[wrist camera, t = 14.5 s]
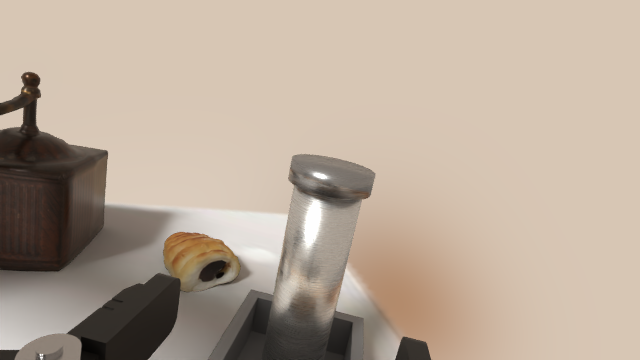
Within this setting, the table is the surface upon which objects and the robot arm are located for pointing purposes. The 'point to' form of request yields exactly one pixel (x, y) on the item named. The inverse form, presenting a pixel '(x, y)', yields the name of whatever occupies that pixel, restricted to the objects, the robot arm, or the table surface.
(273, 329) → the pin
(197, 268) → the pastry
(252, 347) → the tray
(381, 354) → the table surface
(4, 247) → the manual coffee grinder
